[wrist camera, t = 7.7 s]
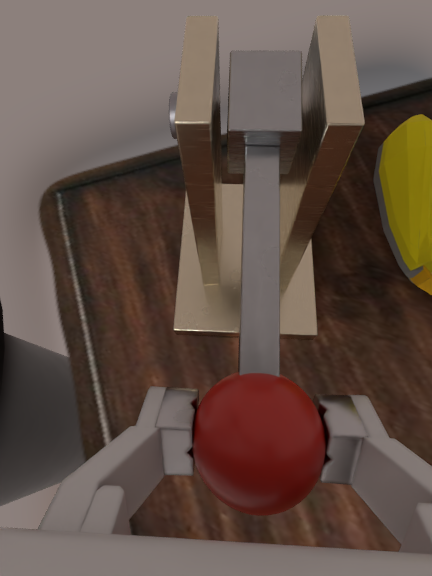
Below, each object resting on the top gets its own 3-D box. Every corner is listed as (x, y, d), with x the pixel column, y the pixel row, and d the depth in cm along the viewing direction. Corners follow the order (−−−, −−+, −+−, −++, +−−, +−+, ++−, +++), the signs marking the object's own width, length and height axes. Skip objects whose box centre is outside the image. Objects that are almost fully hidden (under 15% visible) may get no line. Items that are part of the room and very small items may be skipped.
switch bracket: (312, 340, 20) (448, 218, 8) (176, 335, 20) (99, 211, 8) (304, 196, 23) (387, -41, 11) (188, 194, 23) (148, -38, 12)
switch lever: (308, 487, 11) (348, 552, 7) (194, 480, 11) (178, 541, 7) (303, 118, 13) (331, 31, 10) (212, 117, 13) (206, 31, 10)
